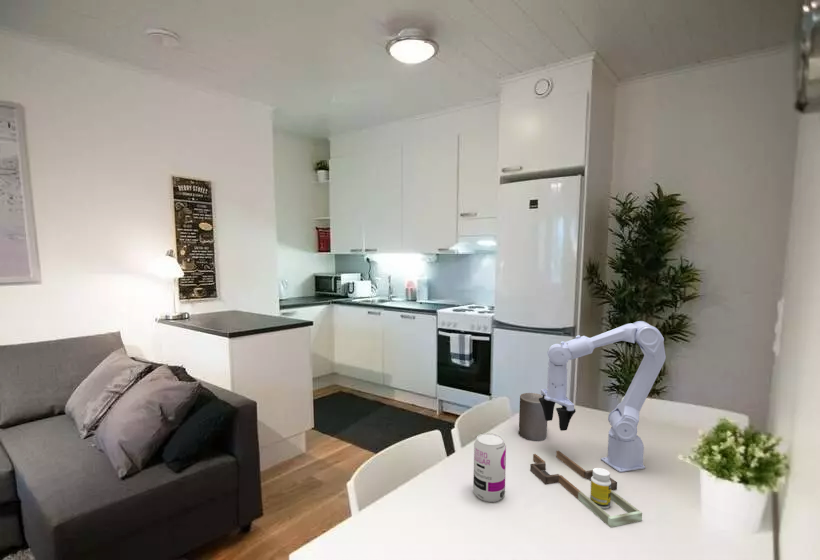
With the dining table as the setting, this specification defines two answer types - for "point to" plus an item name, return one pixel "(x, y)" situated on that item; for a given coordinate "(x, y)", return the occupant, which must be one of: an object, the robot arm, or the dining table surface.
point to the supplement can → (489, 467)
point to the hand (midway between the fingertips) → (555, 425)
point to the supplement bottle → (601, 488)
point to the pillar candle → (532, 418)
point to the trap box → (611, 521)
